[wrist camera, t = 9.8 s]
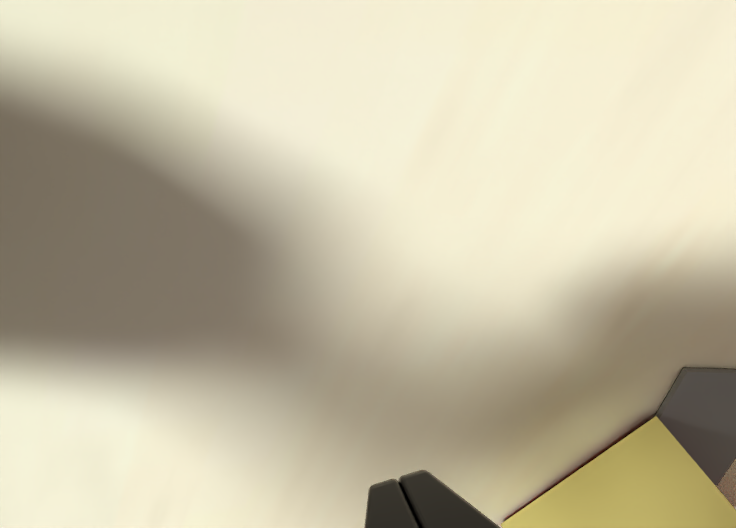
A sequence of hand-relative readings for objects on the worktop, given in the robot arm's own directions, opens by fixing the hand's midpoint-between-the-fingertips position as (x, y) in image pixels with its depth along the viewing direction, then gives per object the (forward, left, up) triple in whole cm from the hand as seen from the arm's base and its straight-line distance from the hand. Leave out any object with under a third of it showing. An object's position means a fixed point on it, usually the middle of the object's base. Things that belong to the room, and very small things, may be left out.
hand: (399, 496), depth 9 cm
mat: (+18, -20, -13) cm, 30 cm away
